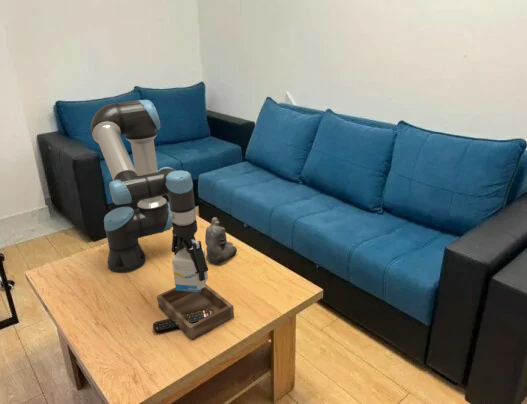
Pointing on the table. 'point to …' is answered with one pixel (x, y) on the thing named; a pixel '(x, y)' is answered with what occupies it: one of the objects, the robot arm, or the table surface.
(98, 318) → the table surface
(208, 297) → the tray
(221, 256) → the figurine
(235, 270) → the table surface
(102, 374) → the table surface
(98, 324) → the table surface
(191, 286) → the ink box
